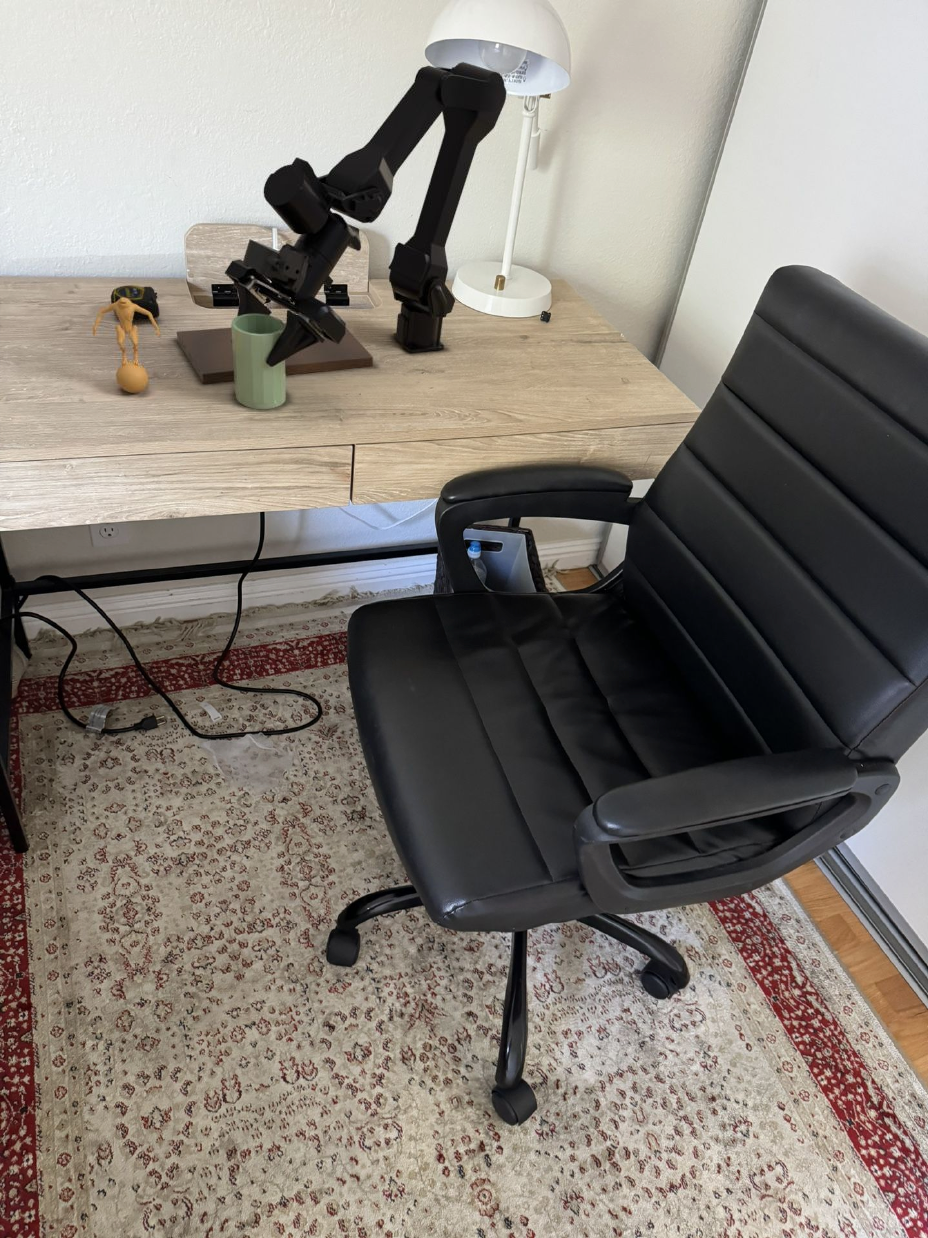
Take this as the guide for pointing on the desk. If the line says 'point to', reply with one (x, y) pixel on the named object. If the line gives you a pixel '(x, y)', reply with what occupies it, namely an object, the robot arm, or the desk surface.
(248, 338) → the pencil cup
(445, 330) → the desk surface
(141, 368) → the figurine
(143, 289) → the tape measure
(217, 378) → the walnut board
